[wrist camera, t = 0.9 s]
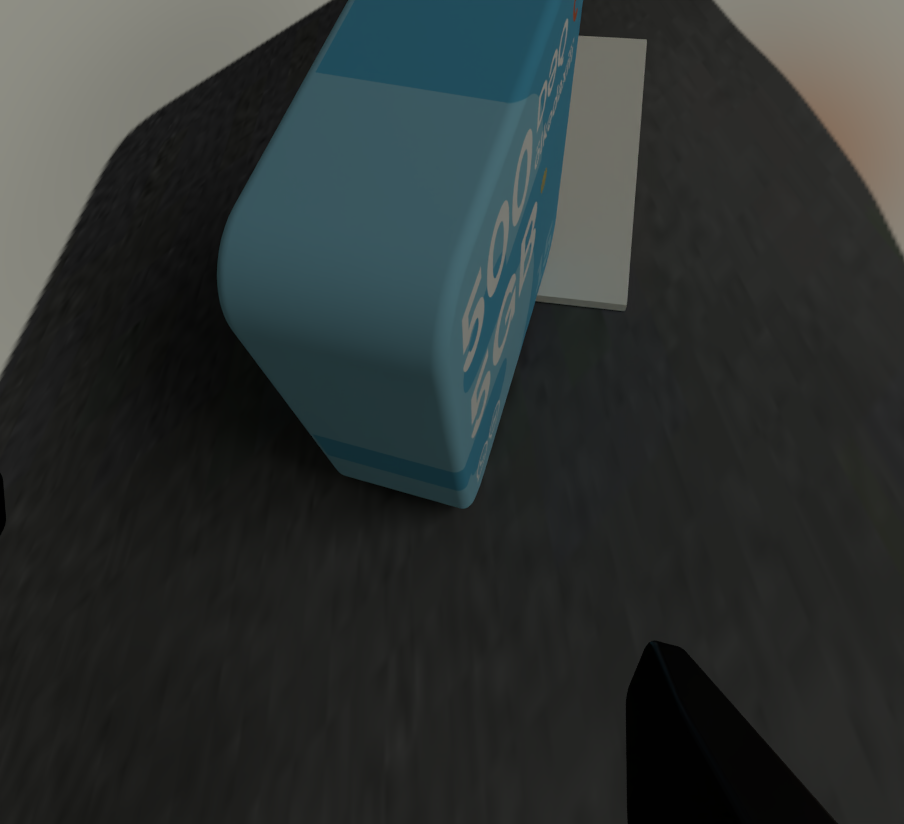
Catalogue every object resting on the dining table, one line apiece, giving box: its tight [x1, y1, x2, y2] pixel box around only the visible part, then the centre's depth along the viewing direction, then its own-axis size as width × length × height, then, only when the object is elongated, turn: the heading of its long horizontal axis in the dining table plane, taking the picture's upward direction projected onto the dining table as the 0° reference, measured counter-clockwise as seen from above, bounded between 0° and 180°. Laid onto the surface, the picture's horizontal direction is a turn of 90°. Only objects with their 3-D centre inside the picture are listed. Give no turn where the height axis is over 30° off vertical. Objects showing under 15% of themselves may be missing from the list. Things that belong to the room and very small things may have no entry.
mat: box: [536, 36, 647, 311], centre depth 28 cm, size 16×14×1 cm
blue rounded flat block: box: [217, 0, 583, 509], centre depth 18 cm, size 12×4×12 cm, turn 162°
